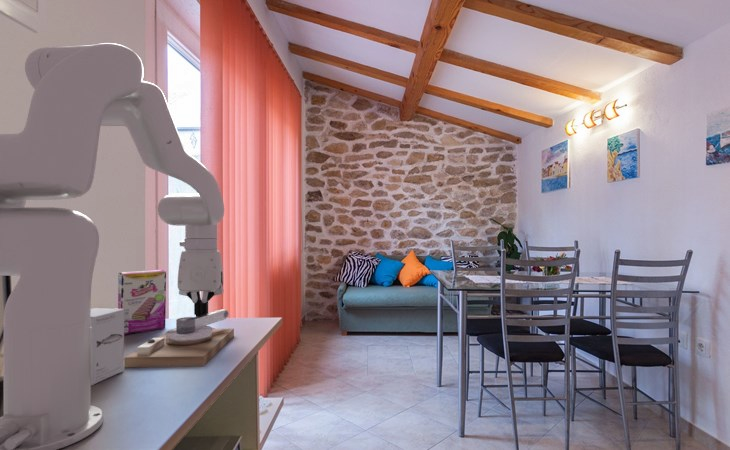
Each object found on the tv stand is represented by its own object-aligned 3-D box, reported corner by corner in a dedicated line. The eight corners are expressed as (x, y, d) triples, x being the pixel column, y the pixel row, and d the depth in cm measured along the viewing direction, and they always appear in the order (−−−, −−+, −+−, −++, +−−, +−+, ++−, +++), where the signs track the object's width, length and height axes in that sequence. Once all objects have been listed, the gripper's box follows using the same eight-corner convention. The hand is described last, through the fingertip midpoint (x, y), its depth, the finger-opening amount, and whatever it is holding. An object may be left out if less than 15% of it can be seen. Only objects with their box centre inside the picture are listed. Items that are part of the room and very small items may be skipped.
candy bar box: (121, 336, 104) (121, 273, 104) (117, 332, 108) (117, 272, 108) (166, 328, 112) (166, 270, 112) (161, 325, 115) (161, 269, 115)
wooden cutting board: (203, 365, 82) (203, 345, 82) (124, 367, 81) (124, 346, 81) (233, 336, 104) (233, 319, 104) (171, 336, 103) (171, 320, 103)
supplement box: (93, 386, 72) (93, 316, 72) (59, 383, 73) (59, 314, 73) (125, 371, 79) (125, 308, 79) (94, 368, 80) (94, 306, 80)
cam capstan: (190, 347, 87) (190, 324, 87) (156, 342, 91) (156, 320, 91) (242, 327, 104) (242, 308, 104) (211, 324, 108) (211, 305, 108)
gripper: (164, 246, 96) (164, 321, 96) (227, 246, 97) (227, 320, 97) (177, 245, 104) (176, 315, 104) (235, 244, 105) (235, 314, 105)
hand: (201, 317), depth 100 cm, fingers closed
